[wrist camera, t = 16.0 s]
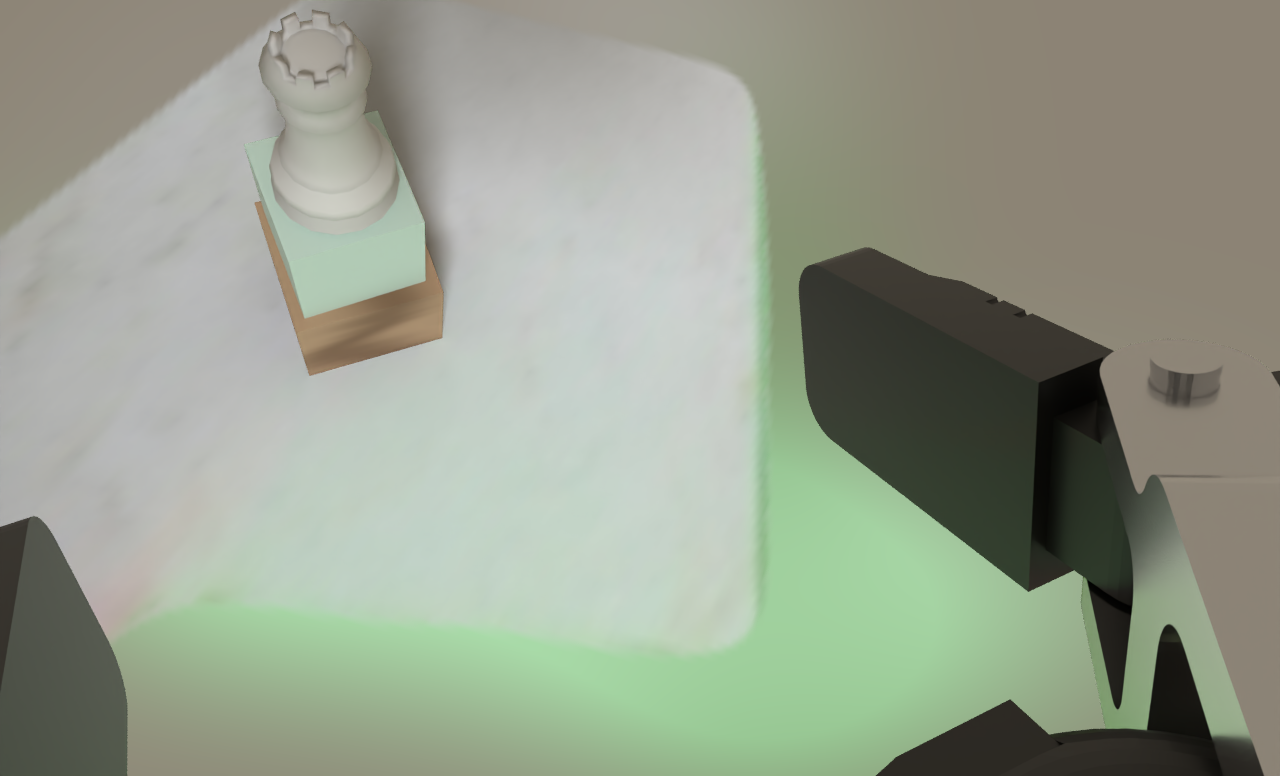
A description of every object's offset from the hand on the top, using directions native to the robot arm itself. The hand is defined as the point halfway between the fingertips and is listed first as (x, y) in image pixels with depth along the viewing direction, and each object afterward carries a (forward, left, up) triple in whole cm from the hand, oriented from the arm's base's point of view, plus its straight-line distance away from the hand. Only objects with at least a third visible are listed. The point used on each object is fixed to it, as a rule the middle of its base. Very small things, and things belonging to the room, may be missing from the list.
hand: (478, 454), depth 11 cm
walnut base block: (+2, +17, -34) cm, 38 cm away
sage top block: (+2, +17, -29) cm, 34 cm away
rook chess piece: (+2, +17, -24) cm, 30 cm away
